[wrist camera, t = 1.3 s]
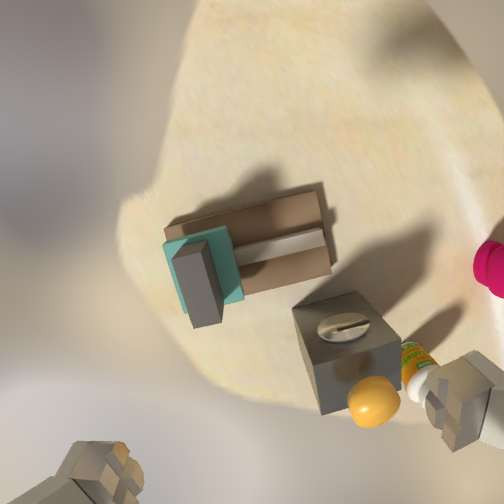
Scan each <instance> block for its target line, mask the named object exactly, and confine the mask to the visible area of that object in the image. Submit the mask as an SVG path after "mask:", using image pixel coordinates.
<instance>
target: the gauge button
mask: <svg viewBox="0 0 504 504" xmlns="http://www.w3.org/2000/svg"><path fill="white" fill-rule="evenodd" d="M400 402H401V401H400V396H399V394H398V393H397V391H396V390H395V388H394V387H393V385H392V384H391V382H390V381H389V380H388V379H387V378H386V377H384V376H378V375H377V376H370V377H367V378H365V379H363V380H361V381H359V382H358V383H357V384H356V385H354V387H353V388H352V389H351V390H350V392H349V394H348V396H347V405H348V408H349V410H350V412H351V414H352V417H353V419H354V421H355V423H356V424H357V425H358V426H361V427H365V428H371V427H376V426H379V425H381V424H383V423H385V422H387V421H388V420H389V419H390V418H392V417H393V416H394V415H395V413H396V412H397V410H398V409H399V406H400Z"/></svg>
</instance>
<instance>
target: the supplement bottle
mask: <svg viewBox="0 0 504 504" xmlns="http://www.w3.org/2000/svg"><path fill="white" fill-rule="evenodd" d="M401 350H402V382H401V386H402V388H403V389H404V391H405V392H406V394H407V395H408V396H409V398H410V399H411V400H413V401H415V402H420V404H421V405H422V406H423V408H424V409H426V408H425V397H426V395H427V394H428V392H429V390H430V389H429V388H428V386H427V385H426V377H427V374H428V372H430V371H432V370H434V369H436V368H439V367H440V366H439V365H438V364H437V362H436V361H435V360H434V359H433V358H432V357H431V356H430V355H429V354H428V353H427V352H426V351H425V350H424V349H423V348H422V346H421V345H419V344H418V343H416V342H412V341H410V342H405V343H403V344H401Z"/></svg>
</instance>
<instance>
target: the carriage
mask: <svg viewBox="0 0 504 504" xmlns="http://www.w3.org/2000/svg"><path fill="white" fill-rule="evenodd" d="M162 246H163V249H164V252H165V256H166V259H167V262H168V265H169V268H170V272H171V275H172V278H173V281H174V284H175V287H176V290H177V293H178V296H179V299H180V302H181V305H182V308H183V311H184V314H185V313H188V314H189V317H190V320H191V323H192V326H193V328H194V329H195V328H199V327H204V326H209V325H213V324H218V323H222V317H223V308H224V305H225V304H230V303H234V302H238V301H243V300H244V291H243V287H242V283H241V275H240V271H239V267H237V264H236V261H235V257H234V253H233V245H232V241H231V237H229V234H228V230H227V226H226V225H225V226H222V227H218V228H214V229H210V230H206V231H202V232H198V233H194V234H190V235H187V236H183V237H179V238H175V239H171V240H168V241H166V242H165V243H164V244H163V245H162Z"/></svg>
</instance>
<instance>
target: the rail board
mask: <svg viewBox="0 0 504 504" xmlns="http://www.w3.org/2000/svg"><path fill="white" fill-rule="evenodd" d="M225 225H226V226H227V230H228V234H229V237H231V241H232V245H233V253H234V257H235V261H236V264H237V267H239V271H240V275H241V283H242V287H243V291H244V296H245V295H249V294H253V293H257V292H262V291H266V290H270V289H274V288H278V287H282V286H286V285H290V284H294V283H298V282H302V281H306V280H310V279H314V278H317V277H321V276H325V275H329V274H332V270H331V265H330V259H329V254H328V248H327V243H326V238H325V232H324V227H323V222H322V217H321V212H320V208H319V203H318V198H317V193H316V191H313V190H312V191H308V192H304V193H299V194H295V195H290V196H286V197H282V198H278V199H273V200H269V201H265V202H261V203H257V204H253V205H248V206H244V207H240V208H236V209H232V210H228V211H224V212H220V213H217V214H213V215H209V216H205V217H201V218H197V219H194V220H190V221H186V222H182V223H179V224H175V225H171V226H168V227H166V228H164V232H165V236H166V239H167V241H168V240H171V239H175V238H179V237H183V236H187V235H190V234H194V233H198V232H202V231H206V230H210V229H214V228H218V227H222V226H225Z"/></svg>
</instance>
